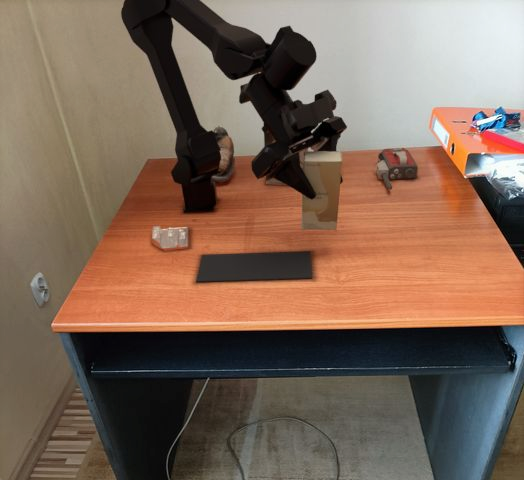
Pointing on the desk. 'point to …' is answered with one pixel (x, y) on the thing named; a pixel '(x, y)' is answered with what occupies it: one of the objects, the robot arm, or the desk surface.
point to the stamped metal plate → (170, 238)
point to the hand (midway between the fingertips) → (327, 190)
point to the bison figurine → (224, 155)
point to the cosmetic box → (322, 190)
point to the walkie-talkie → (396, 165)
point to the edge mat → (255, 266)
